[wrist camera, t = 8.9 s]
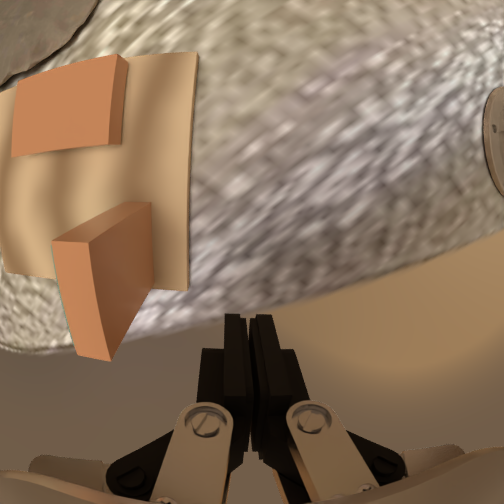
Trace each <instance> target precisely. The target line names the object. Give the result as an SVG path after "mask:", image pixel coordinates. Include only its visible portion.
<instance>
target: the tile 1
mask: <svg viewBox="0 0 504 504" xmlns="http://www.w3.org/2000/svg"><path fill="white" fill-rule="evenodd" d="M127 68H128V61H126V60H125V59H124V58H122V57H121V56H120V55H118V54H114V55H109V56H104V57H99V58H94V59H89V60H85V61H81V62H77V63H73V64H69V65H65V66H62V67H58V68H55V69H51V70H48V71H45V72H42V73H39V74H36V75H33V76H30V77H28V78H25V79H22V80H20V81H18V84H17V90H16V97H15V106H14V115H13V127H12V148H11V158H12V157H19V156H27V155H33V154H39V153H46V152H52V151H60V150H67V149H76V148H85V147H95V146H107V145H121V128H122V114H123V102H124V92H125V84H126V76H127Z"/></svg>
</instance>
